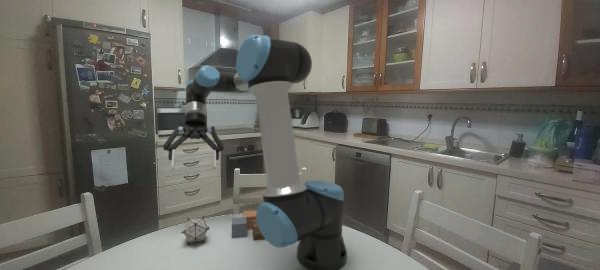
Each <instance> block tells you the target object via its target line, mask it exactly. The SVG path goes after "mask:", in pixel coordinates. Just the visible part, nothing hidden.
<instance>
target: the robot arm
mask: <svg viewBox="0 0 600 270" xmlns="http://www.w3.org/2000/svg"><path fill="white" fill-rule="evenodd" d="M239 46H240V47H239V49H238V51H237V55H236V62H235V63H236V64H235V65H236V72H235V73H228V72H219V70H218V69H217V68H216V67H213V66H212V65H208V64H206V65H203V66H201V67H200V69H198V71H197V72H196V74H195V77H194V79H191V80H188V81H187V83H186V87H185V107H184V108H185V109H184V110H185V111H184V114H185V115H184V126H179V125H178V124H175V125H174V130H173V131H172V132H171V134H170V136H169V137H168V138H167V140H166V141H165V143H164V144H163V145H162V146H163V150H164V151H167V152H168V156H167V157H168V160H169V161H171V165H170V166H171V167H170V169H171V171H174V170H175V162H176V160H175V159H176V149H177V148H179V146H181V145H182V144H183V143H184V142H185V141H186V140H188V139H190V140H194V139H195V140H200V139H201V140H202V141H204V142H205V143H206V144H207V145H208V146H209V147H210V148H211V149H212V150H213V152H212V165H213V166H212V170H216V167H217V161H219V160H220V152H223V151H224V149H225V145H224V144H223V142H222V141H221V139H220V137H219V136H218V134H217V132H216V129H215V126H211V127H207V98H208V97H209V95H210V94H211V93H212V92H213V93H234V94H235V93H237V94H246V93H248V92H250V93H251V94H253V96H255V100H256V101H255V103H256V109H257V111H256V112H257V117H258V125H259V131H260V138H261V146H262V154H263V161H264V162H263V163H264V169H265V177H266V183H267V186H266V188H265V190H264V191H263V193H262V199H263V202H262V203H261V204H259V206H257V210H256V211H257V212H256V219H257V224H258V227H259V229H260V231H261V233H262V235H263V236H264V237H265V239H264V240H266V241H267V243H269V244H270V245H272V246H273V247H275V248H279V249H280V248H285V247H288V246H290V245H291V246H292V245H294V244H297V242H298V244H297V247H296V258H297V261H298V262H299V263H300V264H301V266H303V267H305V268H307V269H309V270H340V269H341V268H342V267H344V265H345V264H346V263H347V258H348V257H347V256H348V253H347V247H346V244H345V240H344V238H343V219H344V218H343V217H344V214H343V213H344V202H345V199H344V190H343V189H344V188H342V187H341V186H340V185H338V184H336V183H334V182H330V181H326V180H307V181H305V182H304V183H302V182H301V180H300V171H299V166H298V159H297V158H298V157H297V152H296V151H297V150H296V143H295V137H294V128H293V121H292V113H291V108H290V107H291V105H290V100H289V99H290V98H289V91H290V90H291V88H292V87H293V84H299V83H301V82H303V81H305V80H306V79H307V78H308V77H309V75H310V74H311V71H312V67H313V61H312V57H311V54H310V53H309V51H308V50H307V49H306V48H305V47H304V45H302V44H301V43H298V42H294V41H289V40H284V39H280V38H277V37H271V36H269V35H266V34H265V35H261V34H251V35H248V36H247V37H246V38H245V39H244V40H243V41H242V43H241V45H239ZM182 131H183V133H182V135H181V136H179V138H178V139H177V140H175V139H176V138H177V136H178V135H179V134H180V133H181V132H182ZM207 132H208V133H209V134H210V135H211V137H212V139H213V140H212V139H211V138H210V137H209V136H208V135H207Z"/></svg>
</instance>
